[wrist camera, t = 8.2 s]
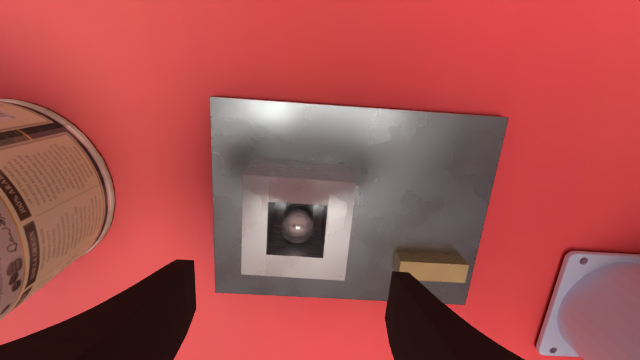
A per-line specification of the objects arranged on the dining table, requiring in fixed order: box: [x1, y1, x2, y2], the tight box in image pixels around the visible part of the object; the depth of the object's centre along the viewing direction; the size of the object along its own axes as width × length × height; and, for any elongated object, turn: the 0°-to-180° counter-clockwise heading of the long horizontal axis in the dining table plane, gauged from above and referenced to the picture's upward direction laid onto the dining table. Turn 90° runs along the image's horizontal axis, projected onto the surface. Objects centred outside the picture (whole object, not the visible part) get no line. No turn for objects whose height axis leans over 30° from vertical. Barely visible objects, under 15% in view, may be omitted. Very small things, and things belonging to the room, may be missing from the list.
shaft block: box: [210, 96, 508, 305], centre depth 19 cm, size 16×12×4 cm
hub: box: [241, 157, 356, 281], centre depth 18 cm, size 5×5×4 cm
